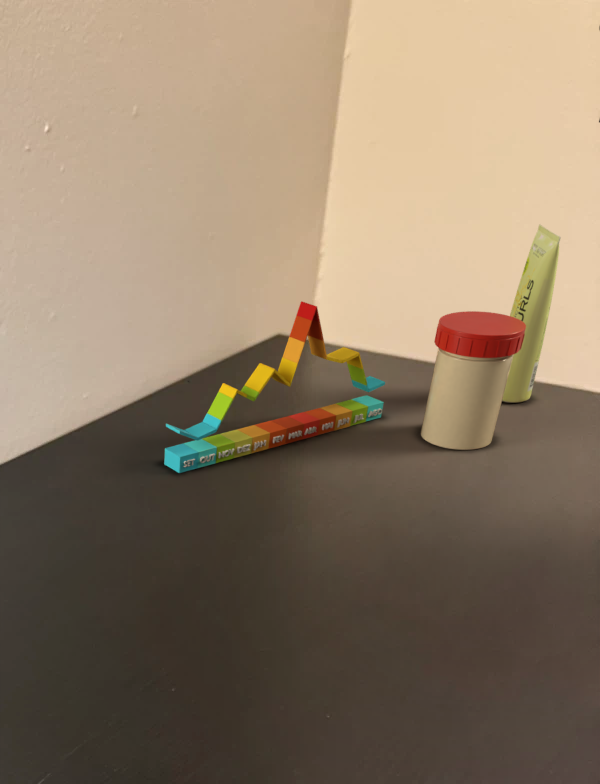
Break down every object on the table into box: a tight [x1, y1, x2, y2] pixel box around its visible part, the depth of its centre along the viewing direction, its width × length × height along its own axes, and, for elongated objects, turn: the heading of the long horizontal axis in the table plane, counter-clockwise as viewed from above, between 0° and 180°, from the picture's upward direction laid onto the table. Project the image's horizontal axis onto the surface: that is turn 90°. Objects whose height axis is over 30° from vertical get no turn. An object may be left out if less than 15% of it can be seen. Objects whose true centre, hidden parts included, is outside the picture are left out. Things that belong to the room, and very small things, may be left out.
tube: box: [502, 223, 562, 404], centre depth 120 cm, size 6×5×20 cm
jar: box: [420, 347, 514, 451], centre depth 112 cm, size 8×8×12 cm
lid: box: [433, 310, 526, 358], centre depth 109 cm, size 9×9×2 cm
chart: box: [163, 301, 386, 474], centre depth 112 cm, size 30×3×15 cm, turn 120°
